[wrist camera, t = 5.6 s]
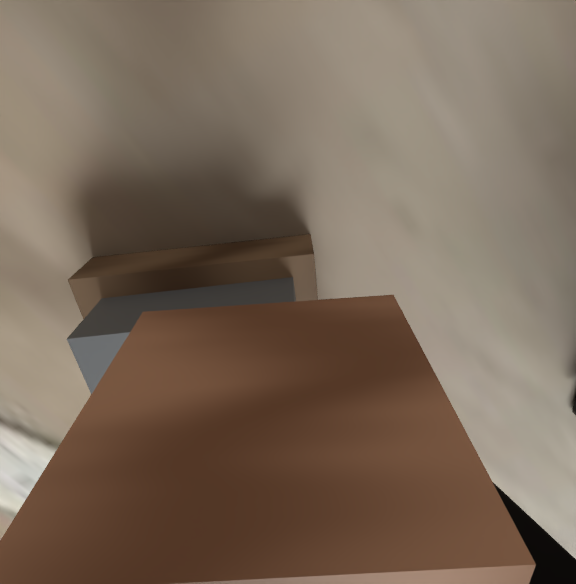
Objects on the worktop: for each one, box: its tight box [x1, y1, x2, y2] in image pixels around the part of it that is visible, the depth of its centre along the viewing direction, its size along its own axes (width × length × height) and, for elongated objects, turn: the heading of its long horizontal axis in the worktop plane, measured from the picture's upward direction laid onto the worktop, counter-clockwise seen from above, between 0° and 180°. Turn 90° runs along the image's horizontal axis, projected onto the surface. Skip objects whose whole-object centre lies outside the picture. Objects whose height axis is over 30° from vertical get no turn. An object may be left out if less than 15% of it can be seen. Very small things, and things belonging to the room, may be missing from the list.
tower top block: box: [67, 277, 296, 394], centre depth 17 cm, size 8×8×3 cm
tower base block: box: [68, 234, 318, 319], centre depth 20 cm, size 10×10×3 cm
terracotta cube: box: [0, 295, 536, 584], centre depth 7 cm, size 5×5×5 cm
